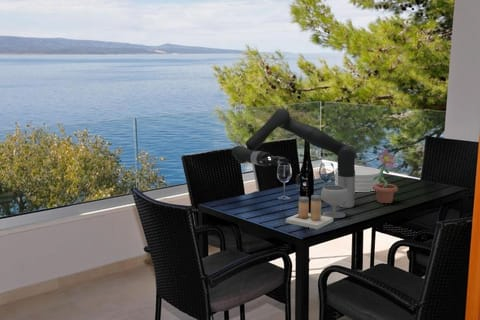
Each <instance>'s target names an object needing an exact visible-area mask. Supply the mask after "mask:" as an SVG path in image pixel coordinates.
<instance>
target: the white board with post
mask: <svg viewBox="0 0 480 320" xmlns="http://www.w3.org/2000/svg"><path fill="white" fill-rule="evenodd" d="M298 214H299V213H297V214H294V215H292V216H289V217H287V218H285V223H286V224H290V225H294V226H300V227H304V228H308V227H309V229H314V230H319V229H322V228H323V227H325V226H327V225H329V224H331V223H333V222H334V218H332V217H327V216H323V215H322V198H321V194H311V196H310V212H309V214H308V219H306V220H305V219H300V218H298Z"/></svg>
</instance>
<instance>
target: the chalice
mask: <svg viewBox="0 0 480 320" xmlns="http://www.w3.org/2000/svg"><path fill="white" fill-rule="evenodd" d="M320 192H321V193H320V195H321V201H323V202H325V203H326V204H328V205H330V207H331V209H332V210H331V211H324V212H323V213H321V215H322V216H327V217H332V218H333V219H341V218H345V217H346V214H345V213H344V212H341V211H337V207H339V206H338V205H340V204H342V203H344V202H345V201H346V200H347V199H348V191H347V189H346V187H344V186H339V185H335V184H330V185H329V184H327V185H324V186H322V189H321V191H320Z"/></svg>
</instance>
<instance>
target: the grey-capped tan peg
mask: <svg viewBox="0 0 480 320" xmlns="http://www.w3.org/2000/svg"><path fill="white" fill-rule="evenodd" d="M309 200H310V199H309V197H308V196H299V197H298V213H297V214H298V218H300V219H305V220H306V219H308V214H309V213H310V212H309V210H310V209H309V203H310V201H309Z"/></svg>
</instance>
